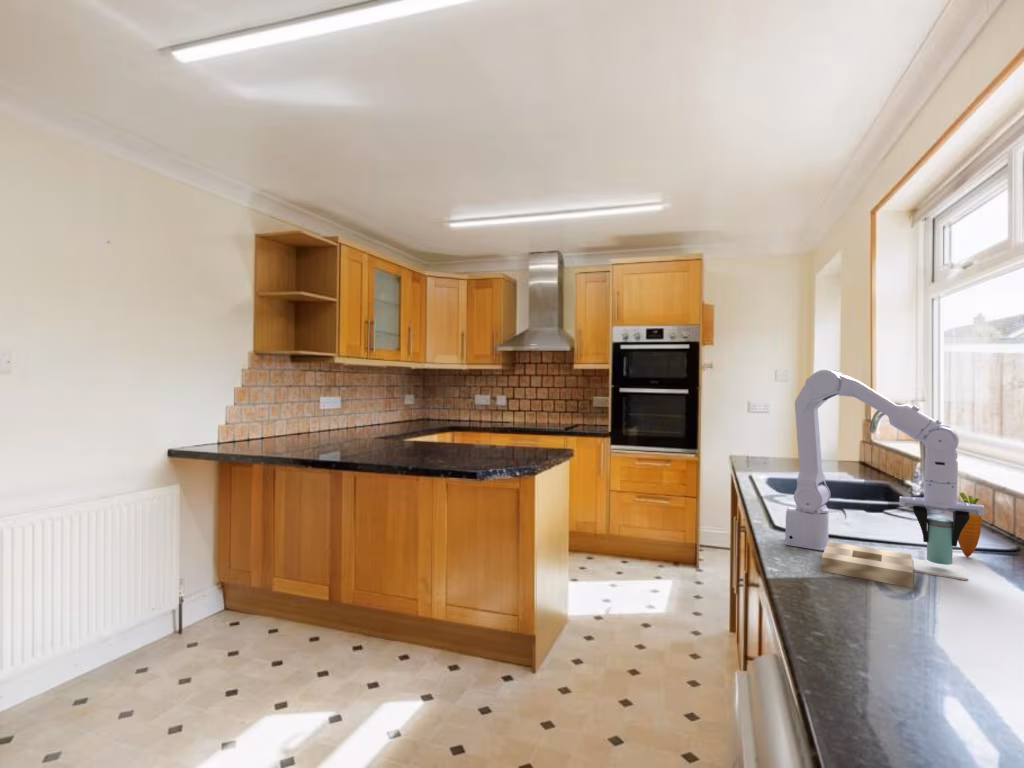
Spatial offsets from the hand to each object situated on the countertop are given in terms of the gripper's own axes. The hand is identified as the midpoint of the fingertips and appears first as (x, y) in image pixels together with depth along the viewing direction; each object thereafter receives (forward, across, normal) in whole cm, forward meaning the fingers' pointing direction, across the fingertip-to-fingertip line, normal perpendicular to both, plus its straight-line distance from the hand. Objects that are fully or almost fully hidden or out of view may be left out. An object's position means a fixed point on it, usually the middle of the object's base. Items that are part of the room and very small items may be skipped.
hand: (939, 543), depth 119 cm
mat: (+6, 0, 0) cm, 6 cm away
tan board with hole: (+6, -13, -9) cm, 17 cm away
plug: (+4, 0, 0) cm, 4 cm away
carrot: (+6, +6, +15) cm, 17 cm away
